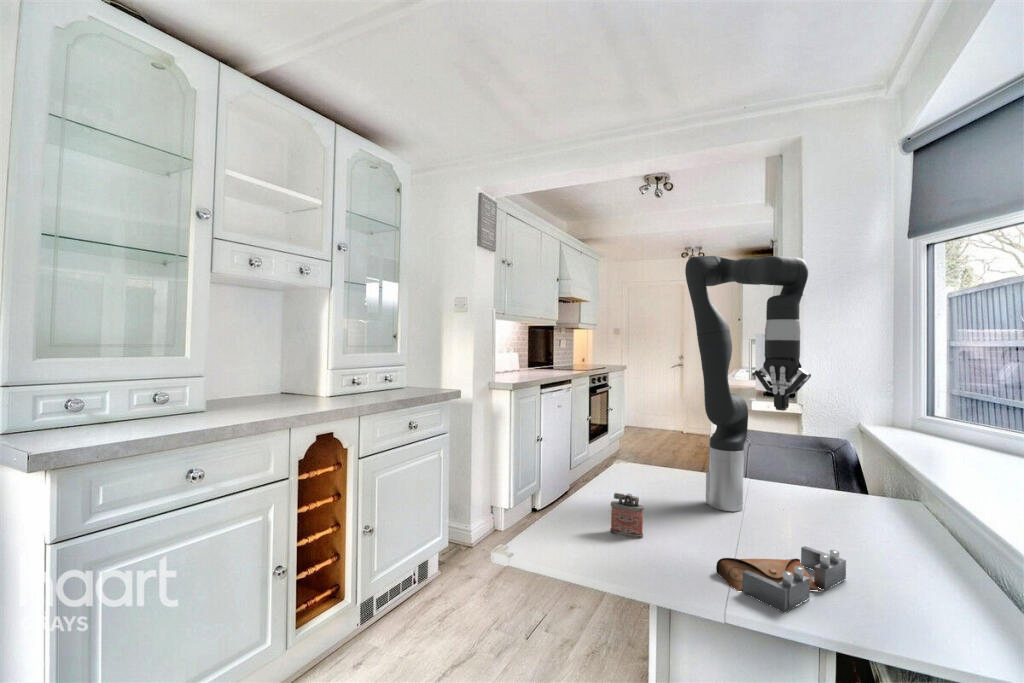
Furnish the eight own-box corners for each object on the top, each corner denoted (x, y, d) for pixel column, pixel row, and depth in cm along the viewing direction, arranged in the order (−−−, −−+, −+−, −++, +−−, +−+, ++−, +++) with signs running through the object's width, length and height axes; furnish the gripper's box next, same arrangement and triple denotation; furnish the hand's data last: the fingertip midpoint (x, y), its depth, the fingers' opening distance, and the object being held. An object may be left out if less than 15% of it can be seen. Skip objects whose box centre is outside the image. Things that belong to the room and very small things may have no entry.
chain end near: (742, 592, 92) (742, 561, 92) (767, 581, 97) (767, 551, 97) (784, 612, 85) (785, 579, 86) (809, 599, 90) (809, 567, 90)
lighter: (644, 535, 119) (645, 494, 119) (641, 540, 116) (642, 498, 116) (612, 529, 123) (612, 490, 123) (608, 533, 120) (609, 493, 120)
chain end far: (783, 574, 100) (783, 545, 100) (804, 564, 105) (804, 536, 105) (825, 591, 93) (825, 560, 93) (845, 579, 98) (846, 550, 98)
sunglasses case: (736, 592, 92) (728, 555, 95) (720, 595, 98) (713, 559, 101) (826, 592, 93) (815, 554, 96) (805, 594, 99) (795, 559, 102)
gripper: (819, 339, 113) (817, 412, 113) (764, 339, 125) (762, 405, 125) (802, 338, 109) (801, 414, 109) (747, 338, 120) (746, 407, 120)
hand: (780, 410), depth 117 cm, fingers closed
